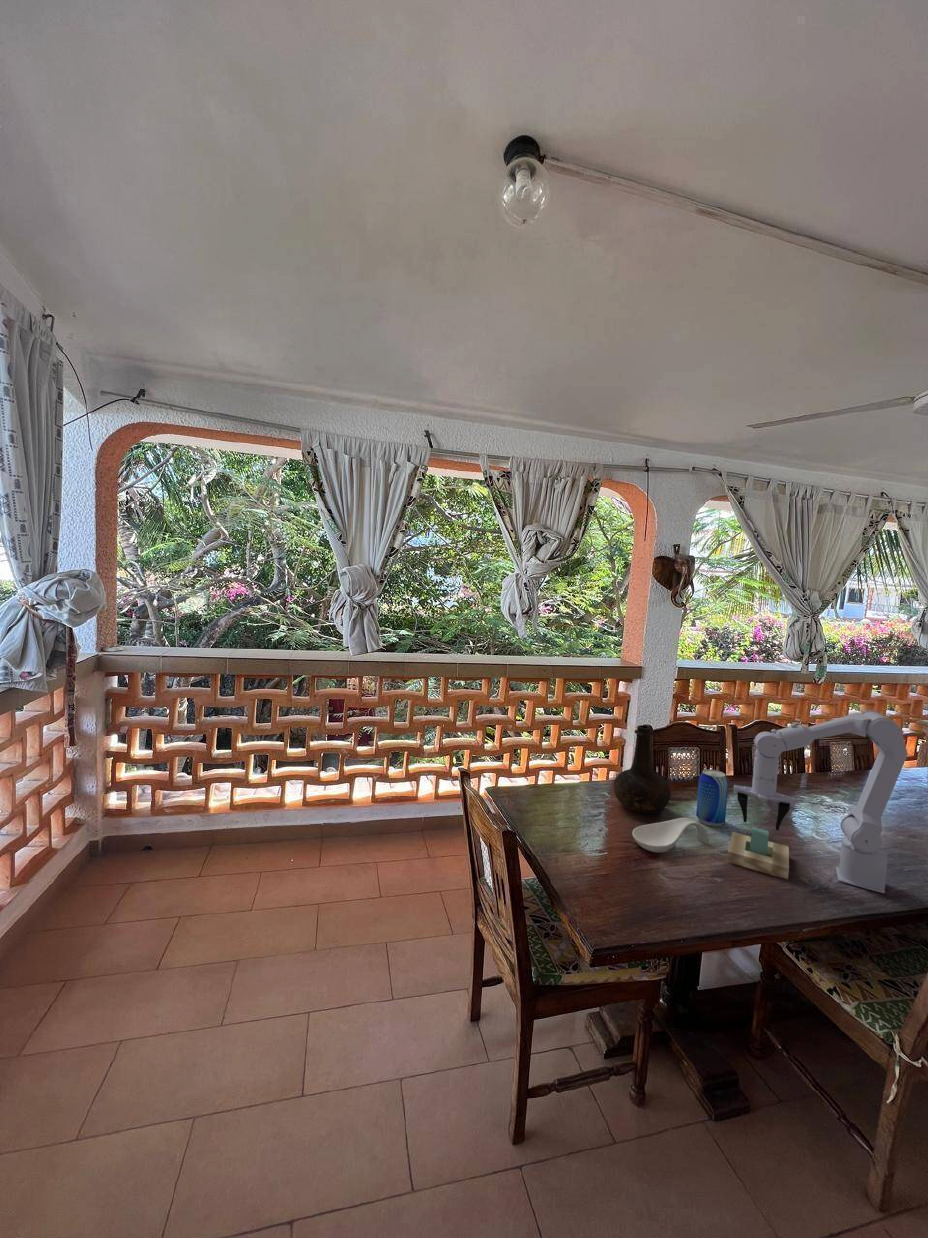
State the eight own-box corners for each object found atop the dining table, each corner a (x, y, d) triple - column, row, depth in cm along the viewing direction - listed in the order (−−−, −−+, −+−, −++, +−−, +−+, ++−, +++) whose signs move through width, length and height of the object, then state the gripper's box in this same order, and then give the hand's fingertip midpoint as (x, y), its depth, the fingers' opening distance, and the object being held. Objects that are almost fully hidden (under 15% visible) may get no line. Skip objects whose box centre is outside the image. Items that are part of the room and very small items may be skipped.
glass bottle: (680, 816, 167) (687, 732, 165) (636, 823, 160) (642, 735, 159) (642, 795, 183) (648, 718, 182) (601, 800, 177) (606, 721, 175)
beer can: (690, 817, 167) (693, 769, 166) (709, 814, 170) (713, 767, 169) (710, 829, 159) (714, 778, 158) (731, 826, 162) (735, 776, 161)
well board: (787, 856, 144) (788, 846, 144) (787, 879, 132) (788, 868, 132) (731, 841, 151) (732, 832, 151) (727, 862, 139) (728, 851, 139)
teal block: (766, 859, 142) (768, 831, 142) (766, 865, 139) (768, 836, 138) (749, 854, 144) (752, 827, 144) (749, 860, 141) (751, 832, 140)
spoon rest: (650, 861, 138) (651, 835, 138) (623, 840, 149) (624, 816, 149) (718, 851, 146) (720, 826, 146) (688, 831, 157) (690, 809, 157)
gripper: (734, 774, 141) (730, 822, 141) (796, 787, 133) (792, 838, 134) (736, 767, 147) (732, 813, 147) (796, 779, 139) (791, 828, 140)
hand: (760, 824), depth 141 cm, fingers open, 7 cm apart
